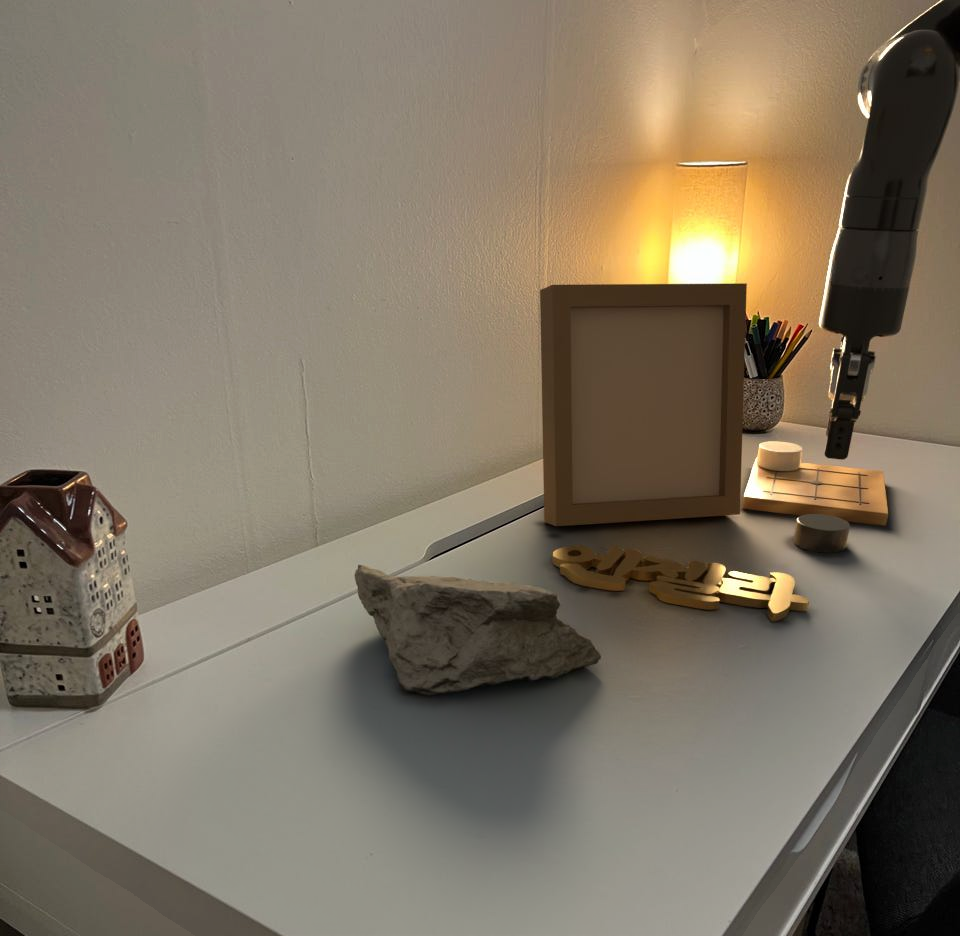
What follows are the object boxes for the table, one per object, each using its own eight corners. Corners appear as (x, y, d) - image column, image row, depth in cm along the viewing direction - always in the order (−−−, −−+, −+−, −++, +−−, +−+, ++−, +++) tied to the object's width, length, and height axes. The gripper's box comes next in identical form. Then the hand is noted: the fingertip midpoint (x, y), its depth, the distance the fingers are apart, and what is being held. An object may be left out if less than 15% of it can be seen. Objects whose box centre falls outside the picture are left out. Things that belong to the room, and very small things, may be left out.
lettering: (534, 579, 92) (534, 570, 92) (566, 545, 100) (567, 537, 100) (803, 626, 84) (804, 617, 83) (813, 585, 92) (815, 576, 92)
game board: (881, 482, 124) (883, 470, 123) (885, 526, 109) (888, 512, 108) (754, 468, 128) (756, 457, 128) (741, 508, 113) (743, 495, 112)
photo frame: (738, 522, 108) (773, 289, 97) (555, 534, 104) (569, 291, 93) (684, 484, 121) (708, 274, 110) (519, 493, 117) (527, 275, 105)
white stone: (800, 462, 126) (803, 443, 125) (798, 473, 121) (801, 454, 120) (758, 457, 127) (761, 439, 126) (754, 468, 123) (757, 449, 122)
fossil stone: (619, 653, 78) (616, 537, 73) (515, 744, 67) (504, 614, 62) (423, 610, 89) (410, 507, 84) (307, 681, 78) (285, 568, 74)
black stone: (845, 539, 104) (850, 517, 103) (845, 556, 100) (850, 533, 99) (794, 532, 106) (798, 511, 105) (792, 549, 101) (795, 526, 100)
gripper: (914, 290, 84) (876, 470, 91) (906, 275, 96) (872, 435, 103) (825, 285, 86) (794, 461, 93) (828, 271, 98) (800, 428, 105)
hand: (835, 447), depth 98 cm, fingers open, 8 cm apart
